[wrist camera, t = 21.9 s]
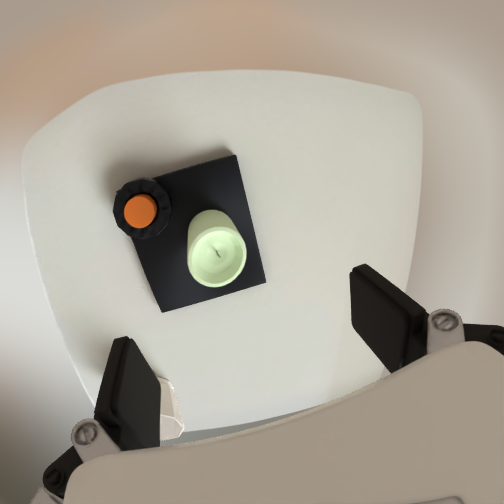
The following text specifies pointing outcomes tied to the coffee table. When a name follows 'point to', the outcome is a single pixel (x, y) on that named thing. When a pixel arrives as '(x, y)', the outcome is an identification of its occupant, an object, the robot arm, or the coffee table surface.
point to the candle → (214, 249)
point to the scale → (176, 229)
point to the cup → (169, 412)
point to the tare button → (140, 211)
